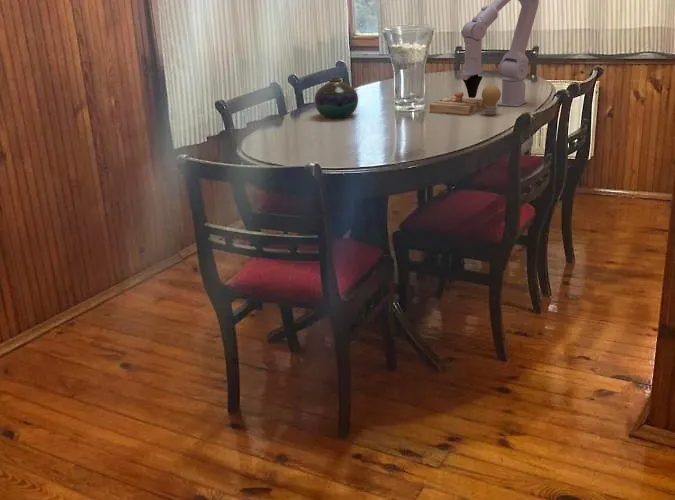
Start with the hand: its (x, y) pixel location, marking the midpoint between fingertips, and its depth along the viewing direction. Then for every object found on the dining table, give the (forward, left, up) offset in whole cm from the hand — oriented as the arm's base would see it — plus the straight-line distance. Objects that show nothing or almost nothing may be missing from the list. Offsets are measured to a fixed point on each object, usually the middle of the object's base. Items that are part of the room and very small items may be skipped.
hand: (472, 97), depth 260 cm
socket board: (0, -5, -5) cm, 7 cm away
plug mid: (0, -5, -1) cm, 5 cm away
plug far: (0, -10, -4) cm, 11 cm away
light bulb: (+4, +9, -5) cm, 10 cm away
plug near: (0, 0, -4) cm, 4 cm away
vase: (+27, -40, -5) cm, 48 cm away
